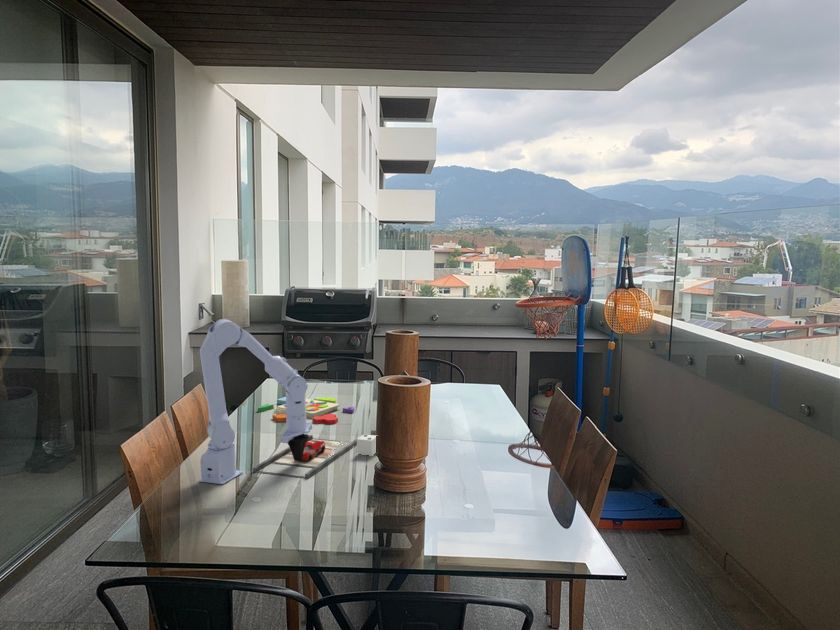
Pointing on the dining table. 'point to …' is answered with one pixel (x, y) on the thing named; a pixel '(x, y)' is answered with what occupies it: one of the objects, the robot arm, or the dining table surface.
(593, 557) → the dining table surface
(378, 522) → the dining table surface
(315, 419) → the pattern blocks set
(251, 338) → the robot arm
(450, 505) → the dining table surface
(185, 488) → the dining table surface
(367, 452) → the die
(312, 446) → the race car
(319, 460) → the board
